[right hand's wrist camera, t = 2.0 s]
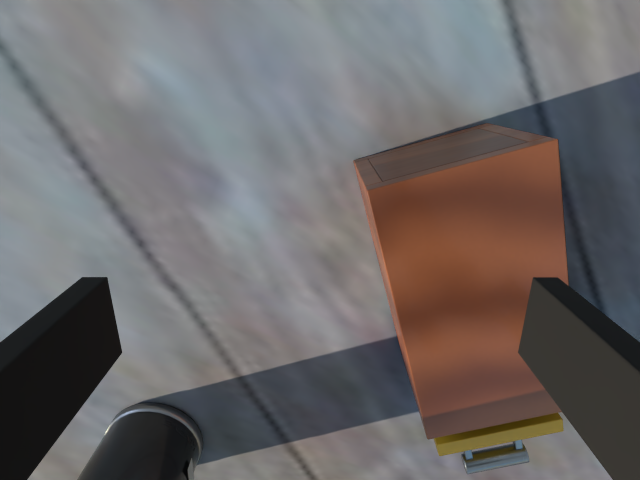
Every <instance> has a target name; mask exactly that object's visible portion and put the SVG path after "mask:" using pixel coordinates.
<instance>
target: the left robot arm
mask: <svg viewBox="0 0 640 480" xmlns="http://www.w3.org/2000/svg"><path fill="white" fill-rule="evenodd" d="M202 448H203V438H202V435H201V432H200V430H199V428H198V426H197V425H196V424H195V422H194V421H193V420H192V419H191V418H190V417H188V416H187V415H186V414H184V413H183V412H181V411H179V410H178V409H175V408H173V407H170V406H167V405H163V404H157V403H142V404H136V405H133V406H130V407H128V408H126V409H124V410H122V411H121V412H120V413H118V414H117V415H116V417H115V418H114V419H113V421H112V423H111V424H110V426H109V427H108V429H107V431H106V434H105V436H104V437H103V439H102V441H101V442H100V444H99V445H98V447H97V449H96V450H95V452H94V453H93V455H92V457H91V458H90V460H89V461H88V463H87V465H86V466H85V468H84V470H83V471H82V473H81V474H80V476H79V478H78V479H77V480H194V470H195V467H196V465H197V463H198V461H199V458H200V455H201V452H202Z"/></svg>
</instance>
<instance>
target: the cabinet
mask: <svg viewBox="0 0 640 480" xmlns="http://www.w3.org/2000/svg"><path fill="white" fill-rule="evenodd" d="M354 165H355V169H356V173H357V177H358V181H359V185H360V189H361V193H362V197H363V201H364V205H365V209H366V213H367V217H368V221H369V225H370V229H371V233H372V237H373V241H374V245H375V249H376V253H377V257H378V261H379V265H380V269H381V273H382V277H383V281H384V285H385V289H386V293H387V297H388V301H389V305H390V309H391V313H392V317H393V321H394V325H395V329H396V333H397V337H398V341H399V345H400V349H401V353H402V357H403V360H404V364H405V367H406V370H407V373H408V377H409V380H410V383H411V387H412V390H413V393H414V397H415V400H416V403H417V406H418V410H419V413H420V416H421V420H422V423H423V426H424V430H425V433H426V436H427V439H433V438H438V437H442V436H447V435H452V434H457V433H462V432H466V431H471V430H476V429H481V428H486V427H491V426H495V425H500V424H505V423H510V422H515V421H520V420H524V419H529V418H534V417H539V416H544V415H548V414H553V413H558V412H562V411H561V410H560V408H559V407H558V406H557V404H556V403H555V402H554V400H553V399H552V398H551V396H550V395H549V394H548V392H547V391H546V390H545V388H544V387H543V386H542V384H541V383H540V382H539V380H538V379H537V378H536V376H535V375H534V374H533V372H532V371H531V369H530V368H529V367H528V365H527V364H526V363H525V361H524V360H523V359H522V357H521V356H520V355H519V353H518V349H519V344H520V339H521V334H522V329H523V324H524V319H525V314H526V309H527V304H528V299H529V294H530V289H531V284H532V279H533V277H558V278H559V279H560V280H562V281H563V282H564V283H566V284H567V285H568V286H569V281H568V267H567V254H566V240H565V226H564V213H563V199H562V185H561V172H560V158H559V144H558V139H555V138H551V137H546V136H542V135H538V134H533V133H529V132H524V131H520V130H515V129H511V128H507V127H502V126H498V125H493V124H489V123H486V124H482V125H479V126H475V127H471V128H468V129H464V130H461V131H457V132H453V133H450V134H446V135H443V136H439V137H435V138H432V139H428V140H425V141H421V142H418V143H414V144H410V145H407V146H403V147H400V148H396V149H392V150H389V151H385V152H382V153H378V154H374V155H371V156H367V157H364V158H360V159H357V160H354Z"/></svg>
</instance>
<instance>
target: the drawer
mask: <svg viewBox="0 0 640 480" xmlns="http://www.w3.org/2000/svg"><path fill="white" fill-rule="evenodd" d="M561 431H563V420H562V418H561V416H560V415H559V414H558V413H553V414H548V415H544V416H539V417H534V418H529V419H524V420H520V421H515V422H510V423H505V424H500V425H495V426H491V427H486V428H481V429H476V430H471V431H466V432H462V433H457V434H452V435H447V436H442V437H438V438H434V441H435V445H436V448H437V451H438V454H439V456H443V455H448V454H453V453H458V452H463V451H464V454H461V457H462V461H463V465H464V468H465V470H466V473H467V474H471V473H477V472H482V471H487V470H492V469H497V468H502V467H507V466H512V465H517V464H522V463H527V462H529V456H528V453H527V450H526V448H525V446H524V445H523V443H522V439H527V438H532V437H537V436H542V435H547V434H552V433H556V432H561ZM512 441H513V444H509V445H504V446H499V447H494V448H489V449H484V450H479V451H474V452H472V450H473V449H478V448H483V447H487V446H492V445H497V444H502V443H507V442H512Z"/></svg>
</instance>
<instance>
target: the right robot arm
mask: <svg viewBox="0 0 640 480" xmlns="http://www.w3.org/2000/svg"><path fill="white" fill-rule="evenodd" d="M121 353H122V349H121V344H120V339H119V334H118V329H117V324H116V319H115V314H114V309H113V304H112V299H111V294H110V289H109V284H108V279H107V277H82V278H81V279H79V280H78V281H77V282H76V283H74V284H73V285H72V286H71V287H69V288H68V289H67V290H66V291H64V292H63V293H62V294H61V295H59V296H58V297H57V298H56V299H54V300H53V301H52V302H51V303H49V304H48V305H47V306H46V307H44V308H43V309H42V310H41V311H39V312H38V313H37V314H35V315H34V316H33V317H32V318H30V319H29V320H28V321H27V322H25V323H24V324H23V325H22V326H20V327H19V328H18V329H17V330H15V331H14V332H13V333H12V334H10V335H9V336H8V337H7V338H5V339H4V340H3V341H2V342H0V480H27V479H28V478H29V476H30V475H31V474H32V472H33V471H34V470H35V468H36V467H37V466H38V464H39V463H40V462H41V460H42V459H43V458H44V456H45V455H46V454H47V452H48V451H49V450H50V448H51V447H52V446H53V444H54V443H55V442H56V440H57V439H58V438H59V436H60V435H61V434H62V432H63V431H64V430H65V428H66V427H67V426H68V424H69V423H70V422H71V420H72V419H73V418H74V416H75V415H76V414H77V412H78V411H79V410H80V408H81V407H82V406H83V404H84V403H85V402H86V400H87V399H88V398H89V396H90V395H91V394H92V392H93V391H94V390H95V388H96V387H97V386H98V384H99V383H100V382H101V380H102V379H103V378H104V376H105V375H106V373H107V372H108V371H109V369H110V368H111V367H112V365H113V364H114V363H115V361H116V360H117V359H118V357H119V356H120V355H121ZM518 353H519V355H520V356H521V357H522V359H523V360H524V361H525V363H526V364H527V365H528V367H529V368H530V369H531V371H532V372H533V374H534V375H535V376H536V378H537V379H538V380H539V382H540V383H541V384H542V386H543V387H544V388H545V390H546V391H547V392H548V394H549V395H550V396H551V398H552V399H553V400H554V402H555V403H556V404H557V406H558V407H559V408H560V410H561V411H562V412H563V414H564V415H565V416H566V418H567V419H568V420H569V422H570V423H571V424H572V426H573V427H574V428H575V430H576V431H577V432H578V434H579V435H580V436H581V438H582V439H583V440H584V442H585V443H586V444H587V446H588V447H589V448H590V450H591V451H592V452H593V454H594V455H595V456H596V458H597V459H598V460H599V462H600V463H601V464H602V466H603V467H604V468H605V470H606V471H607V472H608V474H609V475H610V476H611V478H612V479H613V480H640V342H638V341H637V340H636V339H635V338H633V337H632V336H631V335H630V334H628V333H627V332H626V331H625V330H623V329H622V328H621V327H620V326H618V325H617V324H616V323H615V322H613V321H612V320H611V319H610V318H608V317H607V316H606V315H605V314H603V313H602V312H601V311H599V310H598V309H597V308H596V307H594V306H593V305H592V304H591V303H589V302H588V301H587V300H586V299H584V298H583V297H582V296H581V295H579V294H578V293H577V292H576V291H574V290H573V289H572V288H571V287H569V286H568V285H567V284H566V283H564V282H563V281H562V280H560V279H559V278H558V277H533V279H532V284H531V289H530V294H529V299H528V304H527V309H526V314H525V319H524V324H523V329H522V334H521V339H520V344H519V349H518Z"/></svg>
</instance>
